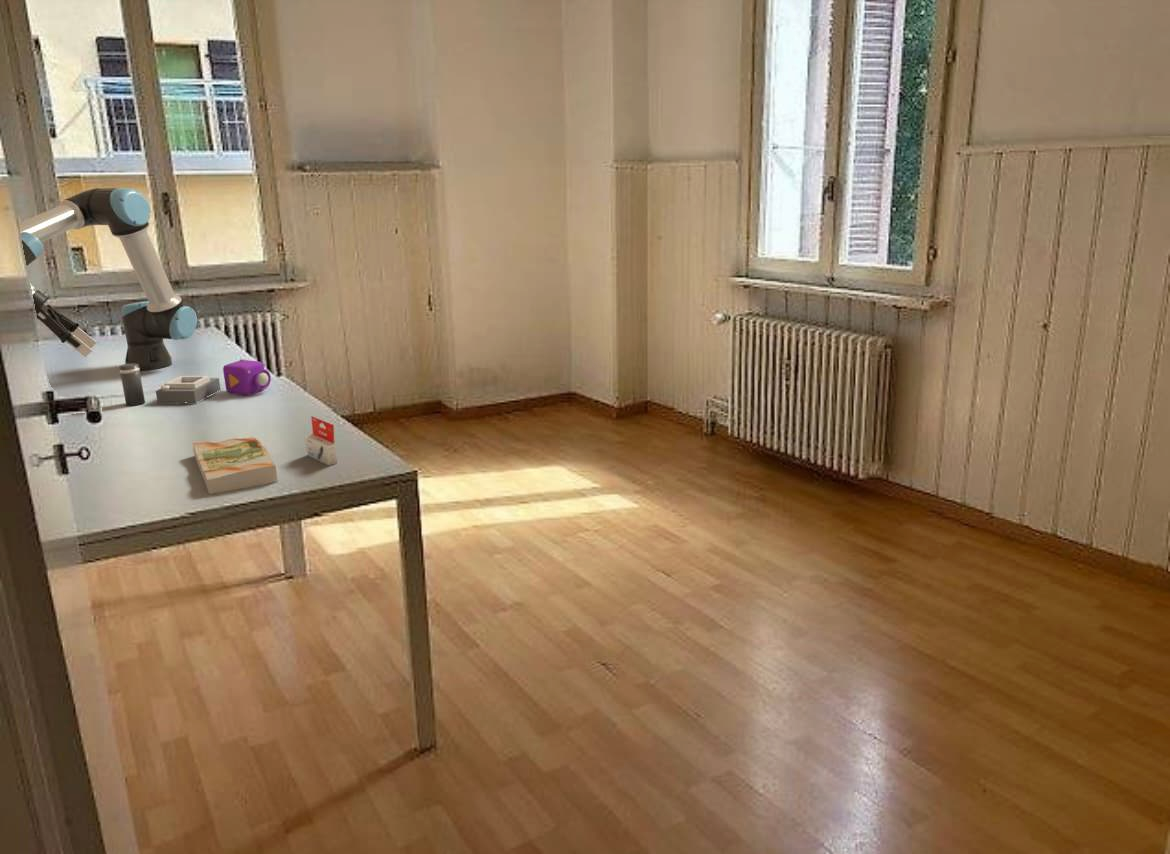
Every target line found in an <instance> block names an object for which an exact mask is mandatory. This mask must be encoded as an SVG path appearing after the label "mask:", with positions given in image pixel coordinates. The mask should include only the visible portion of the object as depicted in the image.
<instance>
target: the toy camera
mask: <svg viewBox="0 0 1170 854" xmlns="http://www.w3.org/2000/svg"><path fill="white" fill-rule="evenodd" d="M222 372H223V379H224V384H225V390H226V392H227V393H228V394H232V395H233V394H234V395H240V394H241V395H242V396H249V395H253V394H255V393H256V394H257V393H259V392H262V391H264V390H266V389H268V388H269V386H270V384H271V380H272V379H271V377H272V376H271V373H270V371H268V370H267V369H265V366H264V363H263V362H262V361H257V360H249V359H247V360H246V358H244V357H243V358H240V359H239V360H238V361H234V362H231V363H228V364H225V365H224V366H223V367H222Z"/></svg>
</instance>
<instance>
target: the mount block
mask: <svg viewBox="0 0 1170 854" xmlns="http://www.w3.org/2000/svg"><path fill="white" fill-rule="evenodd" d="M219 390H220V391H221V383H220V378H219V377H217V378H216V377H211V376H210V375H179V376H177V377H175V378H174V379H171V380H169V381H167V382H164V385H161V386H160V388H159V389H157V390H155V395H156V402H157V404H158V403H185V402H187V403H196V402H198V401H200V400H202V399H204V398H206V397H207V396H209V395H211V394H213V393H215V392H217V391H218V392H220V391H219ZM218 392H217V393H218ZM215 394H216V393H215ZM213 395H214V394H213ZM211 396H212V395H211ZM209 397H210V396H209ZM206 399H207V398H206ZM204 400H205V399H204ZM202 401H203V400H202ZM200 402H201V401H200Z"/></svg>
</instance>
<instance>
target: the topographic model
mask: <svg viewBox="0 0 1170 854" xmlns="http://www.w3.org/2000/svg"><path fill="white" fill-rule="evenodd" d="M192 449H193V455H194V458H195V460H196V461H195V462H196V464H197V466H198V469H199V471H200V473H201V476H202V478H203V482H204V484H205V487H206V489H207V491H208V494H209V495H211V494H217V493H218V494H219V493H223V492H227V491H232V490H233V491H234V490H239V489H245V488H251V487H256V486H260V485H261V486H262V485H266V484H273V483H277V482H278V476H277V475H278V474H277V467H276V464H275V463H274V461H273V458H272V457H271V455H270V453H269V451H268V450H267V447H265V446H264V445H263V444H262V443H261V441H259V440H258V439H257V438H256V437H255V436H251V437H244V438H229V439H226V440H222V441H219V442H209V441H203V442H192Z"/></svg>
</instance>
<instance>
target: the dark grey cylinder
mask: <svg viewBox="0 0 1170 854" xmlns="http://www.w3.org/2000/svg"><path fill="white" fill-rule="evenodd" d="M118 367H119V374H120V377H121V378H120V379H121V384H122V389H123V390H122V391H123V395H124V400H125V405H126V407H137V406H142V405H144V403H145V404H146V400H145V399H146V398H145V395H144V389H143V383H142V378H141V377H142V376H141V372H140V371H141V370H140V369H139V364H136V363H131V364H125V363H124V364H121V365H119V366H118Z"/></svg>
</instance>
